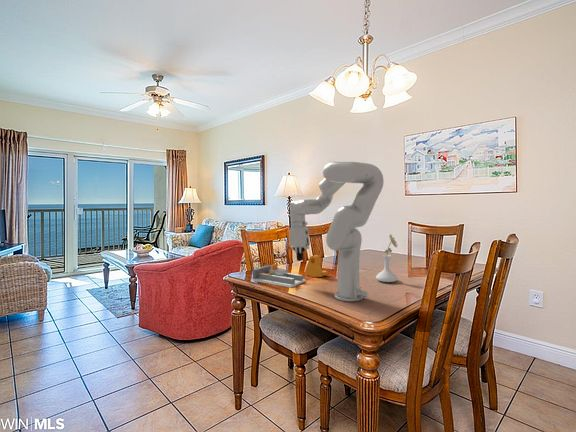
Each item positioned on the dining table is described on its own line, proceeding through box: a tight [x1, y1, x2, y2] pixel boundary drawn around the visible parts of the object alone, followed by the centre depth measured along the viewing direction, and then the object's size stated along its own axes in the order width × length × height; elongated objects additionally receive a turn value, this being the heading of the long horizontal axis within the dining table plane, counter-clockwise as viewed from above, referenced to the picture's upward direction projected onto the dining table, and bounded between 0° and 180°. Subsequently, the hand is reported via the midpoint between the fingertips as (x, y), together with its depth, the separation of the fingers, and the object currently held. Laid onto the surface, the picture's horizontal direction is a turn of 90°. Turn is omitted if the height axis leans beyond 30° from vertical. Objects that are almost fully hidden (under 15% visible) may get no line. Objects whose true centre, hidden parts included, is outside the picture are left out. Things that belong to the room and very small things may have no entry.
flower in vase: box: [375, 234, 399, 283], centre depth 167 cm, size 13×11×25 cm
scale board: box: [252, 264, 306, 288], centre depth 169 cm, size 25×14×6 cm, turn 56°
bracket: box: [305, 254, 328, 278], centre depth 181 cm, size 11×7×12 cm, turn 49°
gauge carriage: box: [267, 263, 289, 277], centre depth 169 cm, size 8×11×7 cm
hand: (300, 260), depth 160 cm, fingers closed
